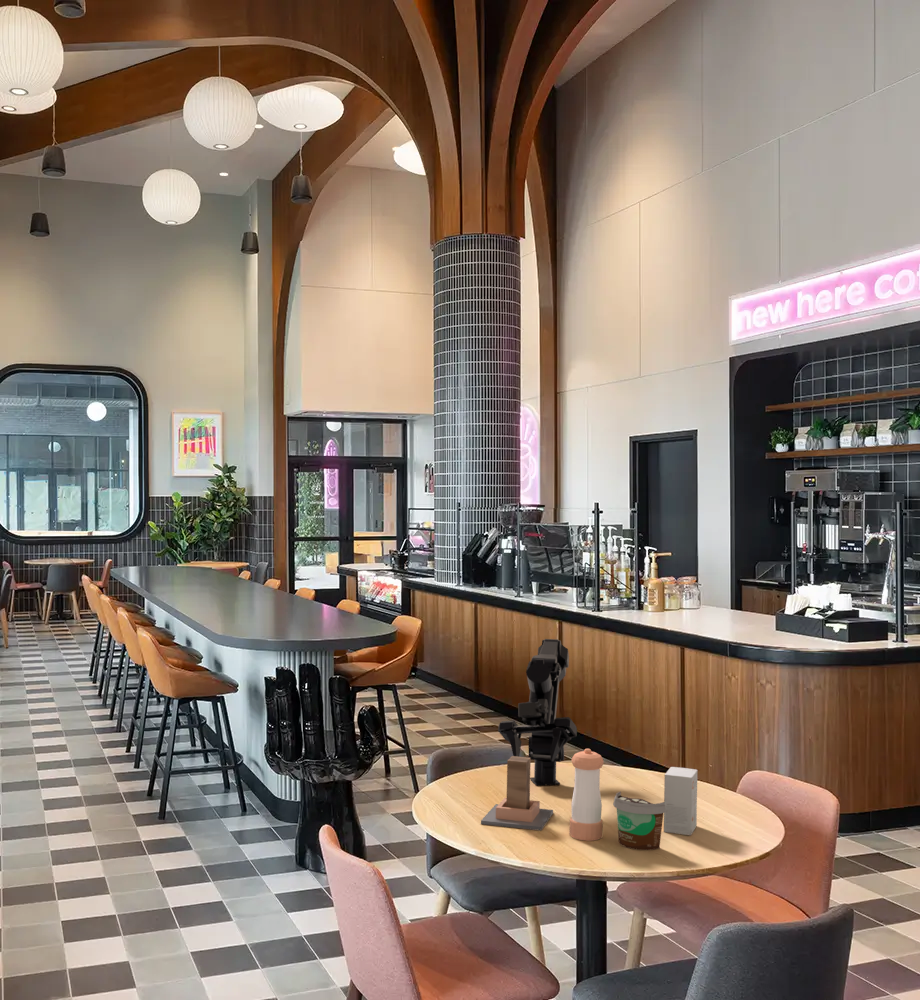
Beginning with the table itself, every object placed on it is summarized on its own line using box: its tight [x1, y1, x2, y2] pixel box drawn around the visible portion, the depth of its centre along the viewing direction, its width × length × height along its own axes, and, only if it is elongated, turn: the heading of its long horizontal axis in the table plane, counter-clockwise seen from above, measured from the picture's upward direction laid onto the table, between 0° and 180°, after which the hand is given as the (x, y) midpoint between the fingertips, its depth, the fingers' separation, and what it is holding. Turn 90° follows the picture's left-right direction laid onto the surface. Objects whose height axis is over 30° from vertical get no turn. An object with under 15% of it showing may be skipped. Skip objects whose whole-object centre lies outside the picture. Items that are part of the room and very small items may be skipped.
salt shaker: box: [568, 748, 604, 842], centre depth 232 cm, size 7×7×19 cm
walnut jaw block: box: [506, 755, 531, 810], centre depth 244 cm, size 4×4×13 cm
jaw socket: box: [480, 797, 554, 832], centre depth 244 cm, size 14×14×3 cm
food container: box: [613, 791, 666, 851], centre depth 226 cm, size 12×6×10 cm, turn 47°
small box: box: [663, 766, 698, 836], centre depth 239 cm, size 8×6×13 cm
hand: (533, 761), depth 252 cm, fingers open, 9 cm apart
